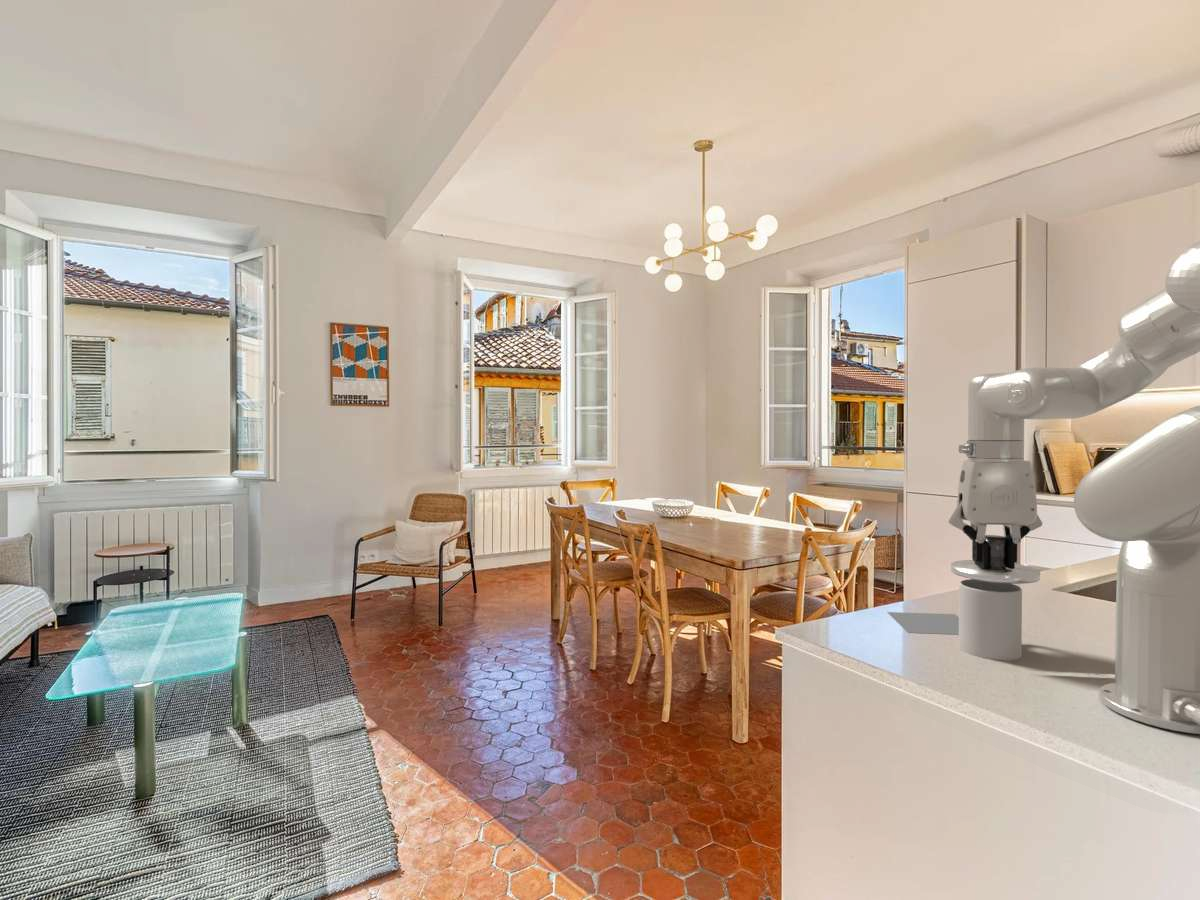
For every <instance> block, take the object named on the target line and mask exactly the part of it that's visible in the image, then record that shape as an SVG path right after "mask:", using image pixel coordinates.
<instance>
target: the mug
mask: <svg viewBox="0 0 1200 900" xmlns="http://www.w3.org/2000/svg"><path fill="white" fill-rule="evenodd" d="M1022 605H1023V591H1022V588H1021V587H1020V586H1018V585H1016V584H1010V583H995V582H987V581H980V580H974V579H970V578H967V579H962V580H961V581H960V582H959V584H958V617H959V635H958V637H957V638H958V641H957V644H958V648H959V650H961V651H962V652H964V653H966V654H968V655H971V656H974V657H977V658H982V659H986V660H987V659H988V660H993V661H994V660H995V661H1016V660H1020V659H1021V658H1023V657H1022V656H1023V647H1022V646H1023V645H1022V644H1023V643H1022V641H1023V640H1022V639H1023V638H1022V636H1023V635H1022V633H1023V632H1022V630H1023V629H1022V626H1023V625H1022V624H1023V621H1022V619H1023V618H1022V617H1023V616H1022V615H1023V606H1022Z"/></svg>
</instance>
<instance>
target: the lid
mask: <svg viewBox="0 0 1200 900" xmlns="http://www.w3.org/2000/svg"><path fill="white" fill-rule="evenodd" d="M985 543H987V544H988V568H981V567H979V566H977V565H975V562H974V561H973V559H964V560H956V561H953V562H951V563H950V572H951V573H953V574H954V575H956V576H959V577H962V578H965V579H974V580H980V581H987V582H995V583H1010V584H1014V585H1016V584H1018V585H1020V584H1021V585H1022V584H1030V583H1031V584H1033V583H1037V582H1039V581H1040V580H1041V571H1040V570H1039V569H1037V568H1034V567H1031V566H1028V565H1024V564H1019V563H1015V568H1014V569H1009V568H1007V567H1006V537H1004V535H996V534H985Z"/></svg>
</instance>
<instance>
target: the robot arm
mask: <svg viewBox="0 0 1200 900" xmlns="http://www.w3.org/2000/svg"><path fill="white" fill-rule="evenodd" d="M1164 283H1165V285H1164V286H1165V288H1163V289H1162V290H1161V291H1159V292H1157V293H1155V294H1154V295H1152V296H1150V297H1148V298H1146V299H1145V300H1143V301H1141V302H1139V303H1137V304H1136V305H1134V306H1133V307H1131V308H1129V309H1127V310H1126V311H1124V313H1122V314H1121V316H1120V317H1119V319H1118V322H1117V330H1118V336H1119V339H1118V341H1117V342H1116V343H1115V344H1114V345H1113V346H1111V347H1110V348H1108V349H1106V350H1105V351H1104V352H1102V353H1100V354H1099V355H1097V356H1095V357H1093V358H1091V359H1089V360H1087V361H1085V362H1084V363H1082V364H1080V365H1077V366H1076V367H1075V366H1074V367H1027V368H1022V369H1017V370H1014V371H1009V372H1000V373H999V372H995V373H983V374H978V375H974V376H973V377H972V378H971V379H970V381H969V382H968V388H967V389H968V395H967V396H968V401H967V402H968V405H967V407H968V408H967V412H968V413H967V418H968V420H967V428H968V429H967V440H966V443H964V444H960V445H958V453H959V454H964V455H966V457H967V459H964V460H963V461H962V466H961V470H960V474H959V481H958V488H957V497H956V498H957V499H956V507H955V510H954V511H953V513H952V514H951V516H950V518H949V520H948V524H949V525H950V526H952V527H954V528H957V529H958V530H960V531H962V533H964V535H966V536H967V537H968V538H969V539H970V540H971V541H972V543H971V544H972V545H971V546H972V547H971V552H972V554H971V558H972V559H971V560H973V561H974V562H975V565H977V566H979V567H981V568H988V544H987V543H985V535H986V534H987V533H986V531H987V525H991V526H992V525H1001V526H1002V529H1003V530H1002V531H1003V536H1004V537H1006V567H1007V568H1009V569H1014V568H1015V564H1017V562H1018V544H1021V542H1022V539H1023V538H1025V537H1026V536H1027V535H1028V534H1029V533H1030V532H1032V531H1034V530H1036V529H1038V528H1040V527H1042V526H1043V522H1042V520H1041V518H1040V517H1039V515H1038V504H1037V503H1038V502H1037V501H1038V500H1037V491H1036V490H1037V489H1036V482H1035V476H1034V471H1033V467H1032V463H1031V460H1025V420H1061V419H1062V420H1066V419H1067V420H1069V419H1079V418H1085V417H1087V416H1090V415H1093V414H1096V413H1098V412H1100V411H1103V410H1105V409H1107V408H1110V407H1111V406H1113V405H1116V404H1117V403H1120V402H1122V401H1124V400H1127V399H1128V398H1131V397H1132V396H1134V395H1136V394H1138V393H1139V392H1142V391H1143V390H1144V389H1146V388H1147V387H1149V386H1151V385H1152V383H1154V382H1155V381H1156V380H1158V379H1159V378H1160V377H1161V376H1162V375H1163V374H1165V372H1166V371H1167V370H1168V369H1169V368H1170V367H1172V366H1173V365H1176V364H1178V363H1179V362H1181V361H1184V360H1185V359H1188V358H1189V357H1192V356H1194V355H1195V354H1197V353H1200V240H1198V241H1197V242H1195V243H1193V244H1192V245H1190V246H1188V247H1187V248H1186V249H1185V250H1183V251H1182V252H1181V253H1179V255H1178V256H1177V257H1176V258H1175V259H1174V261H1173V262H1171V265H1170V266H1169V268H1168V270H1167V273H1166V276H1165V282H1164ZM1073 496H1074V497H1073V508H1074V512H1075V514H1076V517H1077V519H1078V520H1079V522H1080V523H1081V524H1082V526H1083V527H1084V528H1086V530H1088V531H1090V532H1091V533H1092V534H1094V535H1096V536H1098V537H1101V538H1102V539H1105V540H1110V541H1114V542H1119V543H1120V542H1121V546H1120V549H1119V554H1118V559H1117V565H1116V584H1115V585H1116V587H1115V588H1116V597H1115V656H1114V657H1115V659H1114V662H1115V665H1114V666H1115V668H1114V682H1112V683H1111V682H1109V683H1106V684H1104V685H1102V686H1101V687H1099V691H1098V692H1099V699H1100V701H1101V702H1102V703H1103V704H1104V705H1105V706H1106V707H1108V709H1110V710H1112V711H1114V712H1115V713H1118V714H1119V715H1122V716H1123V717H1125V718H1129V719H1132V720H1133V721H1137V722H1140V723H1142V724H1146V725H1150V726H1154V727H1156V728H1161V729H1165V730H1170V731H1174V732H1180V733H1186V734H1194V735H1200V405H1197V406H1194V407H1190V408H1187V409H1185V410H1182V411H1179V412H1177V413H1175V414H1173V415H1171V416H1170V417H1167V418H1166V419H1164V420H1163V421H1161V422H1159V423H1158V424H1156V425H1155V426H1153V427H1151V428H1150V429H1149V430H1147V431H1146V432H1144V433H1143V434H1141V435H1140V436H1138V437H1137V438H1135V439H1134V440H1132V441H1131V442H1129V443H1128V444H1127V445H1125V446H1124V447H1122V448H1121V449H1119V450H1117V451H1116V452H1114V453H1113V454H1112V455H1110V456H1109V457H1107V458H1105V459H1104V460H1103V461H1101V462H1100V463H1098V464H1097V465H1096V466H1094V467H1093V468H1091V470H1089V471H1088V472H1087V473H1086V474H1085V475H1084V476H1083V477H1082V478H1081V479H1080V481H1079V482H1078V485H1077V487H1076V488H1075V491H1074V495H1073ZM964 521H968V522H970V524H967V523H965V522H964Z"/></svg>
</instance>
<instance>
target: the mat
mask: <svg viewBox="0 0 1200 900" xmlns="http://www.w3.org/2000/svg"><path fill="white" fill-rule="evenodd" d="M887 614H888V615H889V616H890V617H891V618H892V619H894V621H896V623H897V624H898V625H899V626H900V627H902V629H904V630H905V631H906V633H908V634H922V635H923V634H927V635H932V634H933V635H954V636H955V635H956V636H957V635H958V636H959V615H956V613H931V612H929V613H928V612H925V613H924V612H900V611H899V612H898V611H897V612H896V611H895V612H894V611H887Z"/></svg>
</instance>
